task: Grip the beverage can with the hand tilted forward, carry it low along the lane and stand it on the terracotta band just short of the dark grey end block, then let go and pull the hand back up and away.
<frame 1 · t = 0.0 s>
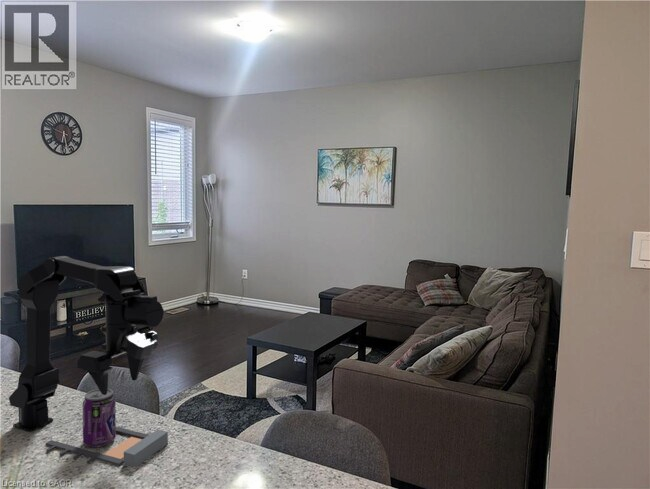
hand: (119, 386, 107), 15 cm above the counter, tool pointing down, fingers open, 9 cm apart
beverage can: (99, 442, 111), resting in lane
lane: (102, 442, 110), on the counter
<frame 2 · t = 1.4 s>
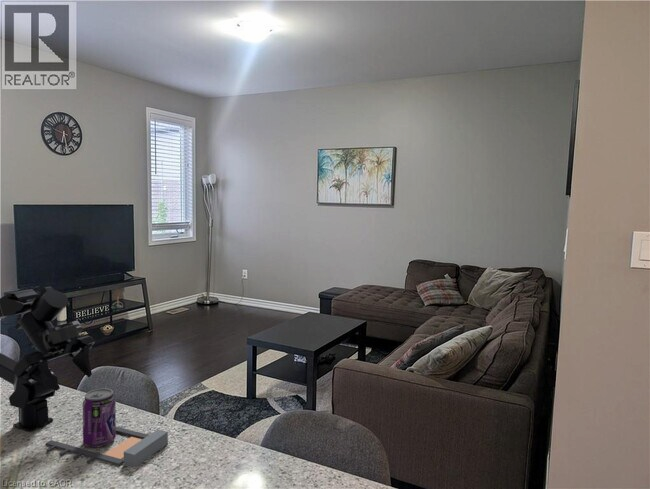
hand: (75, 382, 112), 13 cm above the counter, tool tilted 45°, fingers open, 9 cm apart
nothing on the counter moved.
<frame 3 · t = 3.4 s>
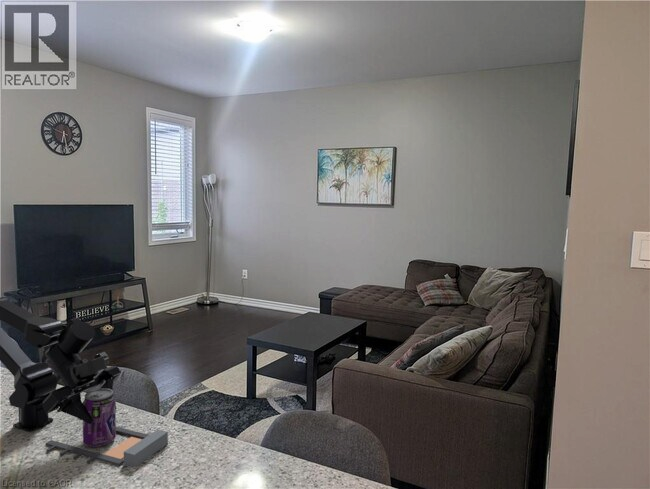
hand: (103, 416, 109), 7 cm above the counter, tool tilted 45°, fingers closed on beverage can, 7 cm apart
beverage can: (99, 442, 111), resting in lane, touching gripper
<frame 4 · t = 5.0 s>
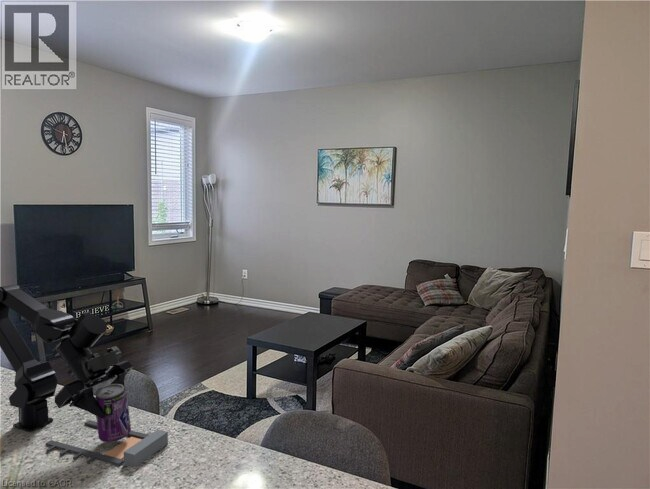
hand: (115, 411, 108), 9 cm above the counter, tool tilted 45°, fingers closed on beverage can, 7 cm apart
beverage can: (115, 436, 110), point 1 cm above the counter, touching gripper
when the fingers open (8 cm above the counter, at t = 6.6 s): beverage can stays where it is, resting on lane.
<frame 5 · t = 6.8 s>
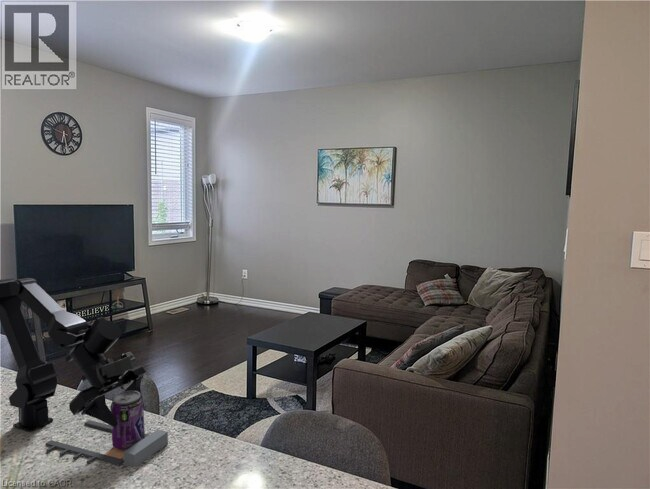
hand: (130, 417, 107), 8 cm above the counter, tool tilted 45°, fingers open, 8 cm apart
beverage can: (129, 444, 109), resting on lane, touching gripper
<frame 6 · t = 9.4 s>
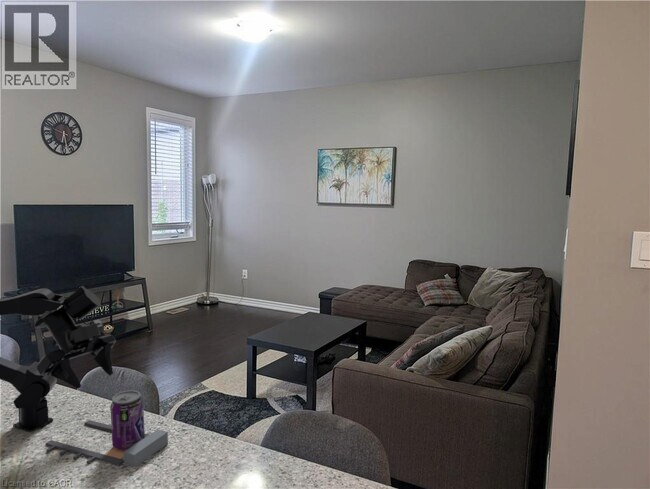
hand: (96, 380, 113), 13 cm above the counter, tool tilted 45°, fingers open, 9 cm apart
beverage can: (129, 444, 109), resting on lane
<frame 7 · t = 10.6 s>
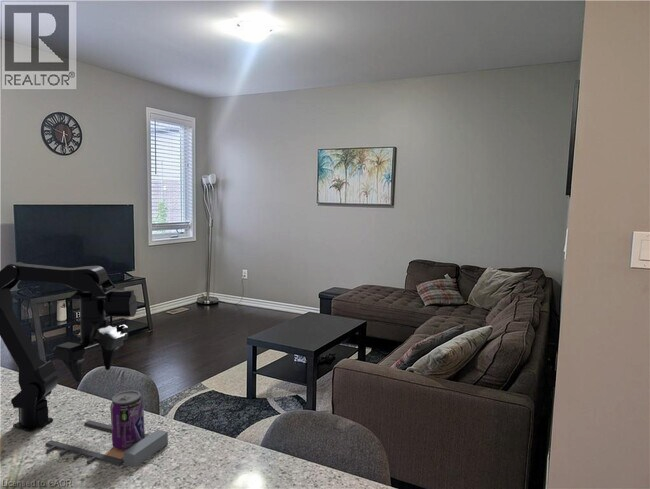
hand: (93, 375, 118), 13 cm above the counter, tool pointing down, fingers open, 9 cm apart
nothing on the counter moved.
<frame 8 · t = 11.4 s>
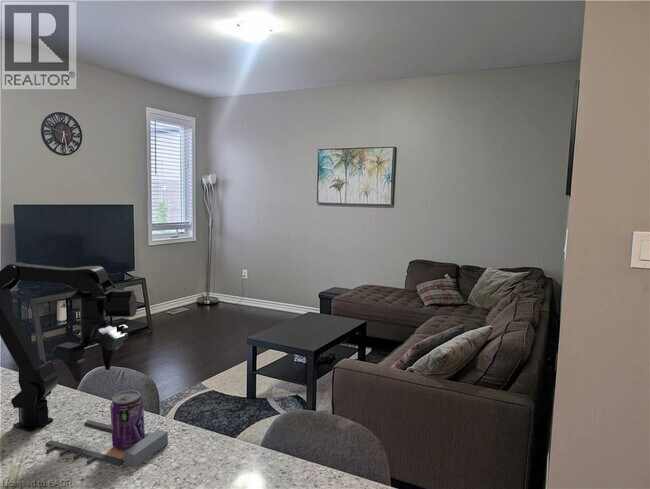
hand: (93, 375, 118), 13 cm above the counter, tool pointing down, fingers open, 9 cm apart
nothing on the counter moved.
at the end: beverage can inside the target area (1.4 cm from its centre), resting on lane; beverage can tilted 3°; the gripper is holding nothing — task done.
